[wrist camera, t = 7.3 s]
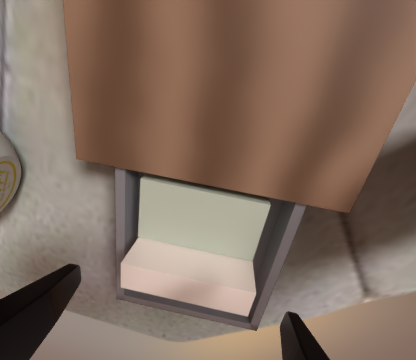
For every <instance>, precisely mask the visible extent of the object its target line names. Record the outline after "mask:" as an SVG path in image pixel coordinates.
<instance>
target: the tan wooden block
mask: <svg viewBox="0 0 416 360" xmlns="http://www.w3.org/2000/svg"><path fill="white" fill-rule="evenodd" d="M63 8H64V19H65V31H66V43H67V54H68V66H69V78H70V89H71V101H72V112H73V124H74V136H75V147H76V159H78V160H83V161H88V162H94V163H99V164H104V165H109V166H114V167H119V168H124V169H129V170H134V171H139V172H144V173H149V174H154V175H159V176H164V177H169V178H174V179H179V180H184V181H189V182H194V183H199V184H204V185H209V186H214V187H219V188H224V189H229V190H234V191H239V192H244V193H249V194H254V195H259V196H265V197H270V198H275V199H280V200H285V201H290V202H295V203H300V204H305V205H310V206H315V207H320V208H325V209H330V210H335V211H340V212H345V213H350V211H351V209H352V207H353V205H354V203H355V201H356V199H357V197H358V195H359V193H360V191H361V189H362V187H363V185H364V183H365V181H366V179H367V177H368V175H369V173H370V171H371V169H372V167H373V165H374V163H375V161H376V159H377V157H378V155H379V153H380V151H381V149H382V147H383V145H384V143H385V141H386V139H387V137H388V135H389V133H390V131H391V129H392V127H393V125H394V123H395V121H396V119H397V117H398V115H399V113H400V111H401V109H402V107H403V105H404V103H405V101H406V99H407V97H408V95H409V93H410V91H411V89H412V87H413V85H414V83H415V81H416V0H63Z"/></svg>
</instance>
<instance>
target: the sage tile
mask: <svg viewBox="0 0 416 360" xmlns="http://www.w3.org/2000/svg"><path fill="white" fill-rule="evenodd" d="M270 206H271V205H270V202H269V199H268V197H265V196H259V195H254V194H249V193H244V192H239V191H234V190H229V189H224V188H219V187H214V186H209V185H204V184H199V183H194V182H189V181H184V180H179V179H174V178H169V177H164V176H159V175H154V174H149V173H147V174H145V175H144V176H143V177H142V178H141V180H140V202H139V224H138V237H142V238H146V239H151V240H156V241H160V242H165V243H170V244H174V245H179V246H183V247H188V248H193V249H197V250H202V251H206V252H211V253H216V254H220V255H225V256H229V257H234V258H239V259H243V260H248V261H253V258H254V255H255V252H256V249H257V246H258V243H259V239H260V236H261V233H262V230H263V227H264V224H265V221H266V218H267V215H268V212H269V209H270Z"/></svg>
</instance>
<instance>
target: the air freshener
mask: <svg viewBox="0 0 416 360" xmlns="http://www.w3.org/2000/svg"><path fill="white" fill-rule="evenodd" d="M20 179H21V166H20V162H19V159H18V156H17V154H16V152H15V150H14V148H13V146H12V145H11V143H10V142H9V140H8V139H7V138H6V137H5V135H4V134H3V133H2V132H1V131H0V212H1V211H2V210H3V209H4V208H5V207H6V205H7V204H8V203H9V202H10V201H11V199H12V198H13V196H14V194H15V193H16V190H17V188H18V186H19V183H20Z"/></svg>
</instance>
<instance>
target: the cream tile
mask: <svg viewBox="0 0 416 360" xmlns="http://www.w3.org/2000/svg"><path fill="white" fill-rule="evenodd" d="M121 288H125V289H130V290H134V291H138V292H143V293H147V294H152V295H156V296H160V297H165V298H169V299H173V300H178V301H182V302H186V303H191V304H195V305H199V306H204V307H208V308H212V309H217V310H221V311H226V312H230V313H234V314H239V315H243V316H247V317H248V315H249V312H250V309H251V307H252V304H253V301H254V298H255V296H256V287H255V278H254V270H253V261H248V260H243V259H239V258H234V257H229V256H225V255H220V254H216V253H211V252H206V251H202V250H197V249H193V248H188V247H183V246H179V245H174V244H170V243H165V242H160V241H156V240H151V239H146V238H142V237H138V239H137V240H136V242H135V243H134V245H133V246H132V248H131V249H130V250H129V252H128V253H127V255H126V256H125V258H124V259H123V261H122V262H121Z"/></svg>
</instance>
